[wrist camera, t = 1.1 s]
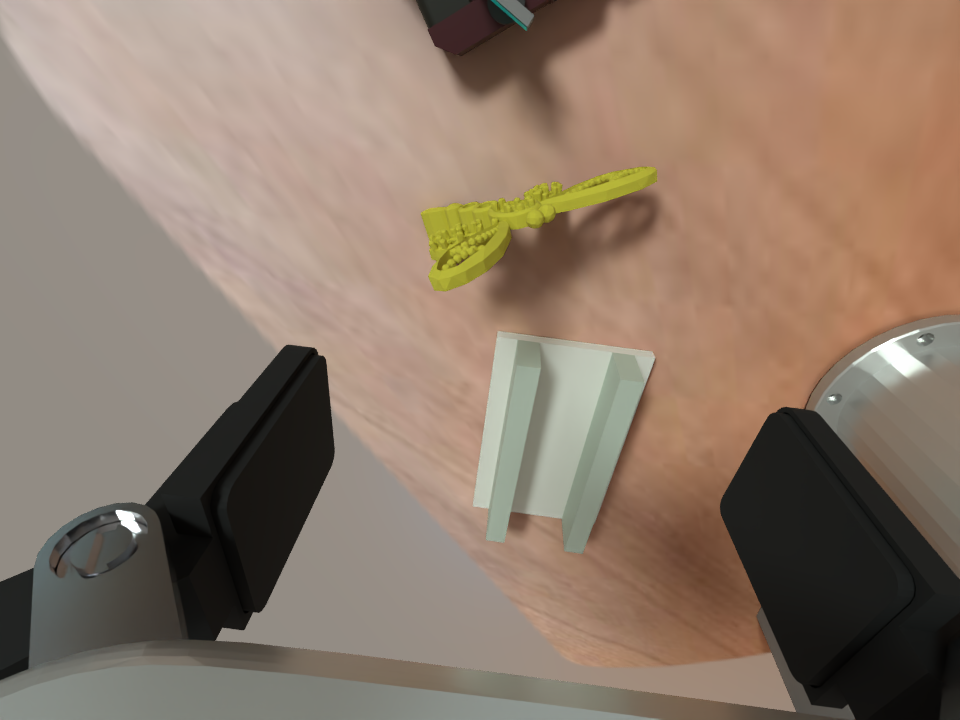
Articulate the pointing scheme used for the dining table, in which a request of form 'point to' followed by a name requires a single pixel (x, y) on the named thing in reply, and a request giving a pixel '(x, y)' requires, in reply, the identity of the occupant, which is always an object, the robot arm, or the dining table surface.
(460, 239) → the decorative insect
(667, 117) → the dining table surface
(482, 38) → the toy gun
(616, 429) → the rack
